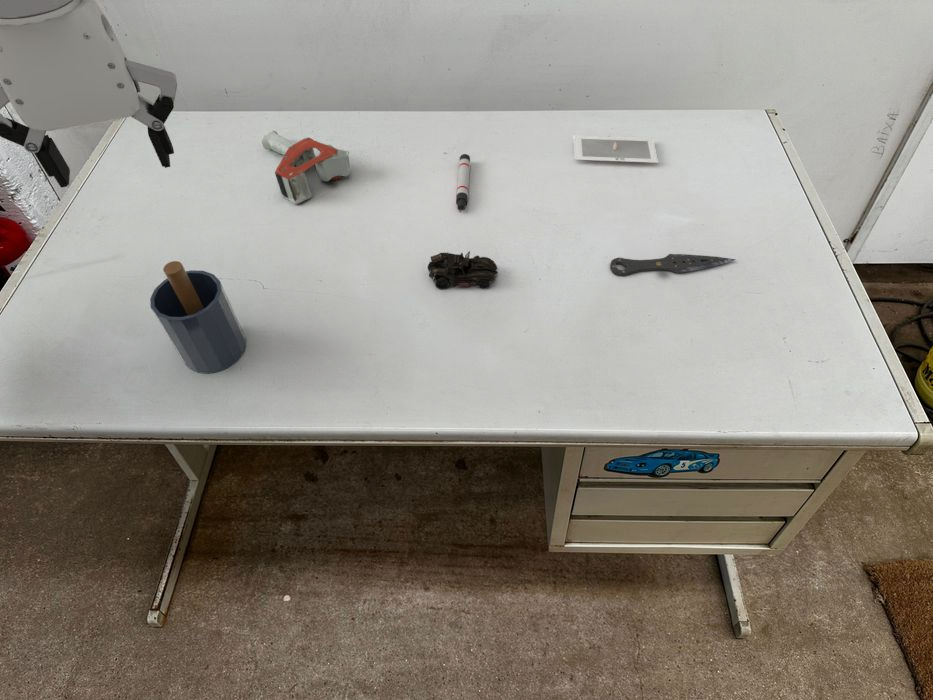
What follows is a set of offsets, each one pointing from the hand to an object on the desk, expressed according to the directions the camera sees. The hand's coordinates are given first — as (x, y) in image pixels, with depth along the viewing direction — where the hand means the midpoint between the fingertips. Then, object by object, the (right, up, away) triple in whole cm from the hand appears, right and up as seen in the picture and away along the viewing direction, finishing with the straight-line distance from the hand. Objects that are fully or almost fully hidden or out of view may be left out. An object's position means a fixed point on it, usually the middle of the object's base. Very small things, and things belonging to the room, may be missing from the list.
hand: (117, 169), depth 62 cm
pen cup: (+1, -18, +23) cm, 29 cm away
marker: (+35, +10, +45) cm, 58 cm away
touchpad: (+63, +18, +52) cm, 84 cm away
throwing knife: (+68, -5, +33) cm, 76 cm away
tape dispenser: (+6, +14, +49) cm, 51 cm away
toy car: (+36, -7, +32) cm, 48 cm away
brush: (+1, -18, +22) cm, 29 cm away
